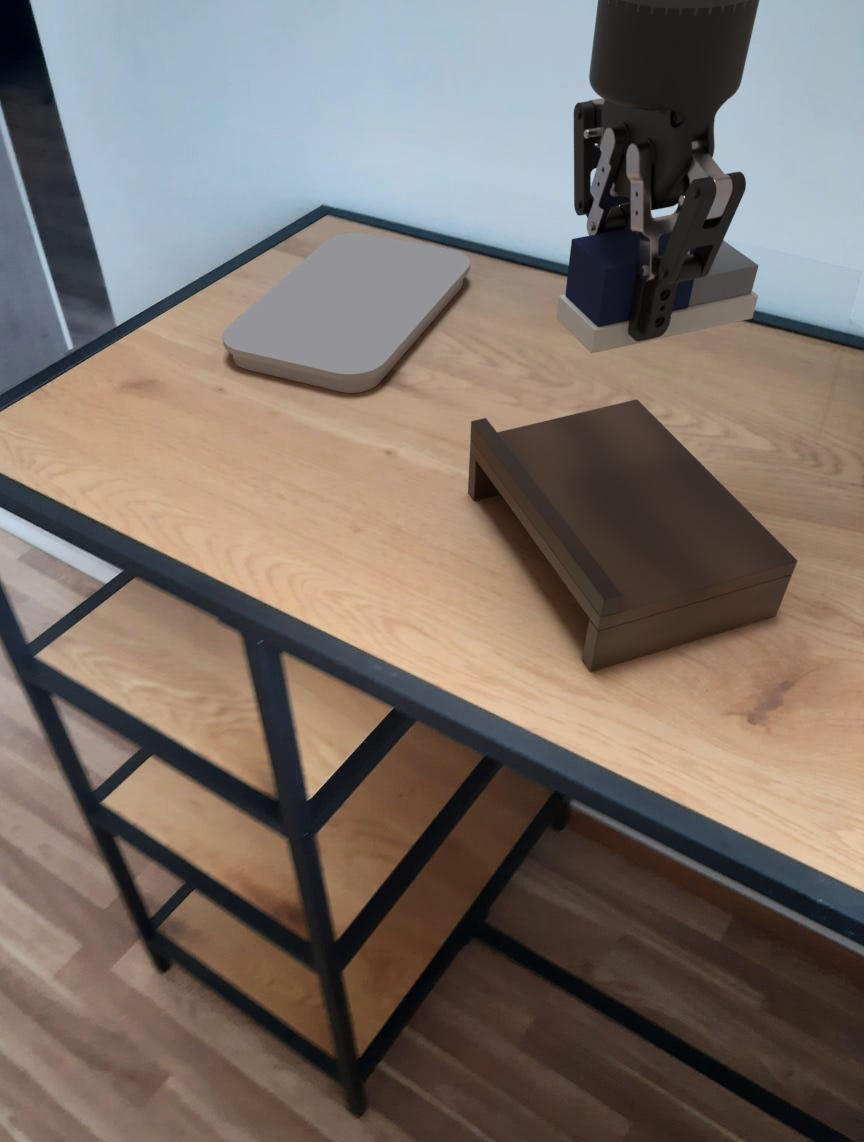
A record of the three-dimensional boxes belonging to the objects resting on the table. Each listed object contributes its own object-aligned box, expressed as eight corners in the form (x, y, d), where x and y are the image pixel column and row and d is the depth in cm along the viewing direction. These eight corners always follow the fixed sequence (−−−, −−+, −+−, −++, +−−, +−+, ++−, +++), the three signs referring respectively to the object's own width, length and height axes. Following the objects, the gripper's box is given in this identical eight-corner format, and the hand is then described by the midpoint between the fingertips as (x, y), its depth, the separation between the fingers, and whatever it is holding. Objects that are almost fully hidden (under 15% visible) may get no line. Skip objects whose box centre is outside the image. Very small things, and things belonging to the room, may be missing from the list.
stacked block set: (710, 286, 60) (728, 207, 57) (752, 318, 57) (774, 237, 54) (556, 318, 58) (565, 238, 54) (591, 353, 55) (603, 271, 51)
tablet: (478, 275, 98) (479, 254, 96) (369, 403, 82) (368, 380, 80) (340, 249, 103) (339, 229, 101) (212, 365, 87) (208, 343, 85)
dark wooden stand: (626, 452, 76) (640, 381, 71) (776, 615, 63) (805, 542, 58) (467, 492, 73) (470, 420, 68) (590, 672, 60) (604, 599, 55)
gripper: (845, 6, 41) (745, 361, 53) (670, -58, 50) (620, 257, 62) (693, 27, 39) (627, 388, 51) (542, -43, 48) (517, 277, 61)
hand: (623, 315), depth 57 cm, fingers closed on stacked block set, 4 cm apart
